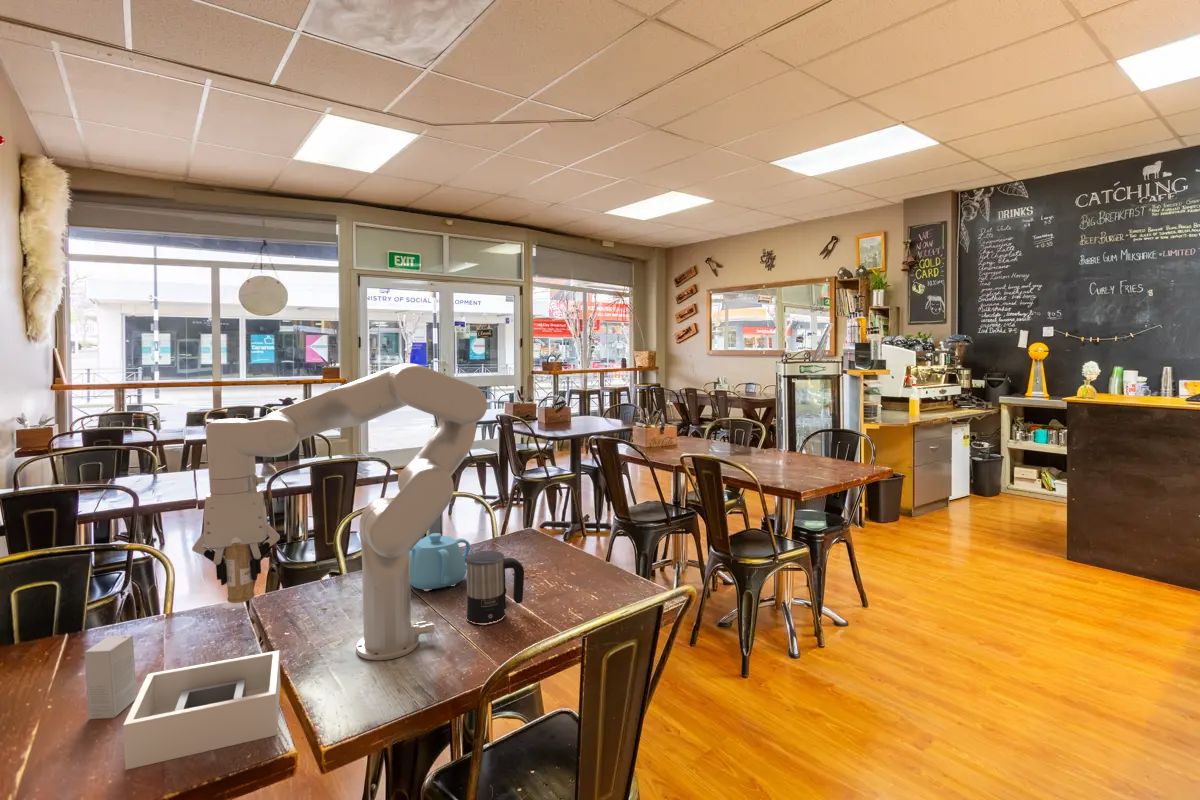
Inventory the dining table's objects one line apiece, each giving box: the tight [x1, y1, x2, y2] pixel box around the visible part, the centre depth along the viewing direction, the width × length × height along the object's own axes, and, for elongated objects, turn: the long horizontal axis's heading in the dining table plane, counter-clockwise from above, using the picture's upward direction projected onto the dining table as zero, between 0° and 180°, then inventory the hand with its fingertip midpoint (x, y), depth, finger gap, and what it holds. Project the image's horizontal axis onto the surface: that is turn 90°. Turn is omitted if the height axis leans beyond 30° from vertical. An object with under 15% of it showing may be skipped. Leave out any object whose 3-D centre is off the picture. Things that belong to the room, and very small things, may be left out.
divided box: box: [122, 650, 281, 771], centre depth 103 cm, size 20×16×7 cm
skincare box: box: [83, 634, 138, 720], centre depth 107 cm, size 6×4×12 cm
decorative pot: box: [410, 532, 471, 590], centre depth 166 cm, size 16×16×14 cm
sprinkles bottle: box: [224, 537, 256, 604], centre depth 116 cm, size 5×5×14 cm
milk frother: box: [465, 550, 525, 623], centre depth 149 cm, size 14×16×15 cm
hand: (239, 579), depth 116 cm, fingers closed on sprinkles bottle, 4 cm apart
